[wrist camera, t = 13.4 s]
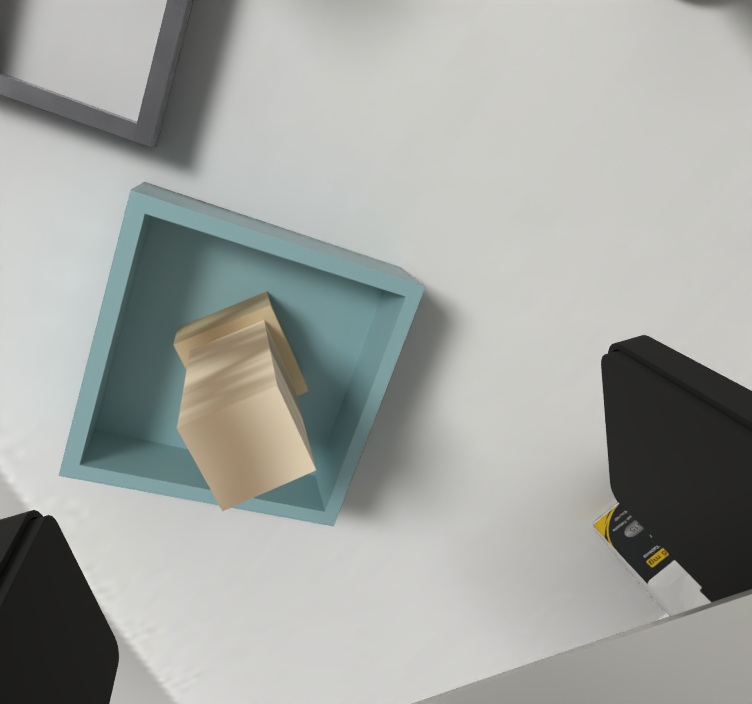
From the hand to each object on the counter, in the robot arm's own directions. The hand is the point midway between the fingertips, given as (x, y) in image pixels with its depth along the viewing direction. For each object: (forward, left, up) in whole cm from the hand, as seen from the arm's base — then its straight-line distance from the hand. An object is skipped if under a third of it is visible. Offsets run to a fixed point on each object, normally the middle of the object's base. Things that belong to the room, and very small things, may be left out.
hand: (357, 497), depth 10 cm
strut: (0, +6, -25) cm, 26 cm away
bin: (0, +6, -26) cm, 27 cm away
